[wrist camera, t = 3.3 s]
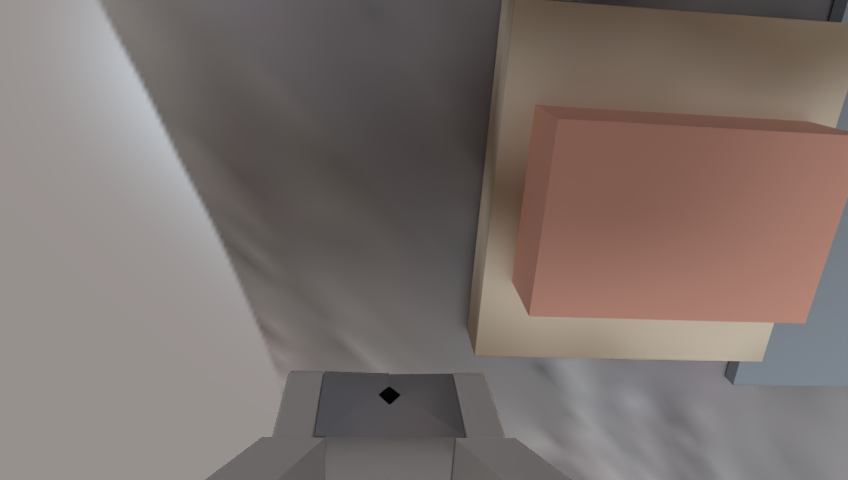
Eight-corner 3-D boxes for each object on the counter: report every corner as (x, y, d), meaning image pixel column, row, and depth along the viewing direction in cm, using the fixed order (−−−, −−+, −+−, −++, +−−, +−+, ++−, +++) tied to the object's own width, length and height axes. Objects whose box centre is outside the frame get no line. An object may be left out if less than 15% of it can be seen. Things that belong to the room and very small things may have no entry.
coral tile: (511, 281, 20) (529, 316, 18) (535, 105, 18) (558, 118, 16) (758, 289, 21) (805, 323, 19) (808, 121, 19) (868, 136, 17)
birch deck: (501, -1, 19) (515, -3, 17) (822, 23, 20) (868, 24, 18) (467, 328, 23) (474, 355, 21) (732, 334, 24) (761, 361, 22)
